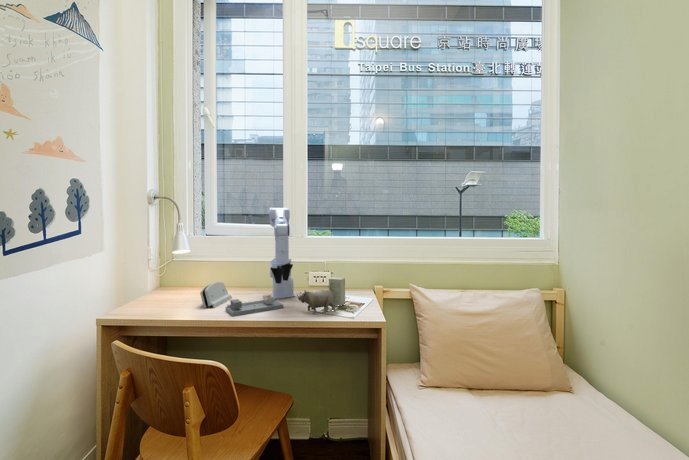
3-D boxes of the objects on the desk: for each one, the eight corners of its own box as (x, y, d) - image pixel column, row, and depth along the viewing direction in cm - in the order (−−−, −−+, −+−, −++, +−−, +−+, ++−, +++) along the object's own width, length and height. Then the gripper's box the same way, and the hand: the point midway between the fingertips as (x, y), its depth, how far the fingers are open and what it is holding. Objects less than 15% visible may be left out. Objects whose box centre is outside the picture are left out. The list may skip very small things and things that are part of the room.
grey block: (269, 301, 164) (269, 293, 164) (273, 303, 160) (273, 295, 159) (262, 302, 162) (262, 294, 162) (267, 304, 158) (267, 296, 158)
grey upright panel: (214, 308, 158) (206, 286, 158) (204, 311, 159) (197, 289, 159) (232, 298, 175) (225, 278, 175) (223, 301, 176) (217, 281, 176)
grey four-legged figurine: (340, 309, 151) (319, 278, 151) (313, 328, 151) (292, 297, 152) (342, 305, 158) (322, 276, 159) (315, 323, 159) (296, 294, 160)
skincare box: (345, 304, 166) (345, 277, 165) (341, 307, 162) (341, 279, 161) (332, 303, 169) (332, 276, 168) (328, 305, 165) (328, 278, 164)
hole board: (274, 303, 168) (274, 292, 167) (283, 307, 160) (283, 297, 160) (225, 310, 155) (225, 299, 155) (232, 316, 148) (232, 304, 147)
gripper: (281, 248, 171) (281, 278, 172) (265, 252, 157) (265, 284, 158) (295, 249, 169) (295, 279, 170) (280, 253, 155) (280, 285, 156)
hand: (282, 281), depth 164 cm, fingers open, 6 cm apart
